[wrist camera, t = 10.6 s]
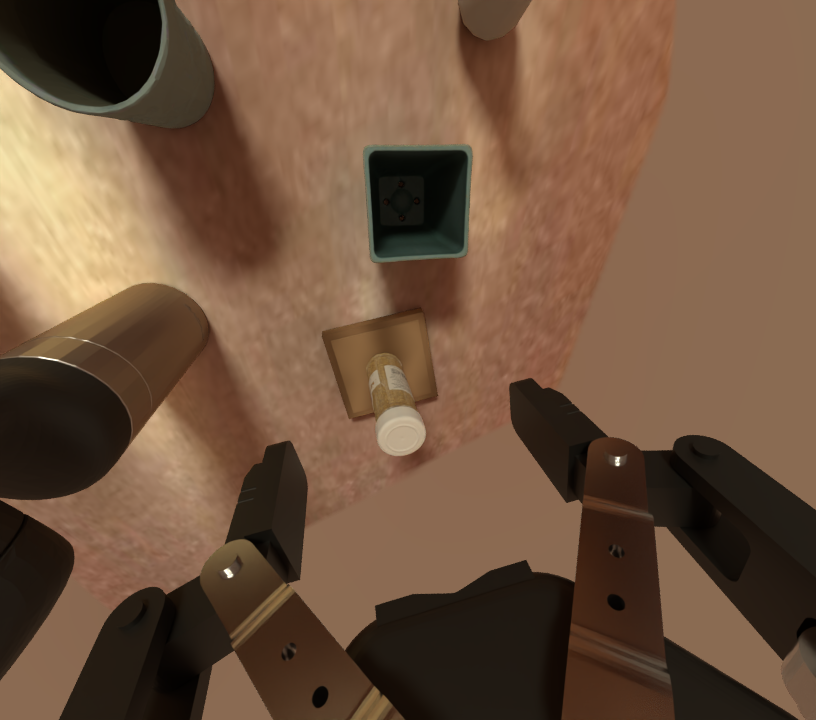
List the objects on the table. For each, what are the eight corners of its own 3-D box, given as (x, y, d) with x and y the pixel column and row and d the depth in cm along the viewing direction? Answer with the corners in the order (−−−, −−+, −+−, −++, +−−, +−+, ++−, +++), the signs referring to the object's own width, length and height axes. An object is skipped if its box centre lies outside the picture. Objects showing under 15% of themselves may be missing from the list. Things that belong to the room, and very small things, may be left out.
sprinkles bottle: (358, 365, 43) (367, 436, 31) (389, 344, 43) (410, 408, 31) (379, 390, 45) (394, 466, 34) (409, 371, 45) (436, 441, 33)
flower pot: (443, 151, 36) (474, 143, 28) (441, 242, 40) (468, 257, 32) (355, 152, 35) (362, 144, 27) (363, 246, 39) (370, 263, 31)
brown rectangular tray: (348, 412, 48) (349, 419, 46) (322, 331, 42) (321, 336, 41) (435, 389, 49) (438, 396, 47) (420, 307, 43) (423, 312, 42)
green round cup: (126, 144, 31) (20, 127, 21) (53, -13, 27) (-130, -138, 16) (243, 125, 32) (199, 99, 22) (193, -30, 27) (106, -160, 17)
